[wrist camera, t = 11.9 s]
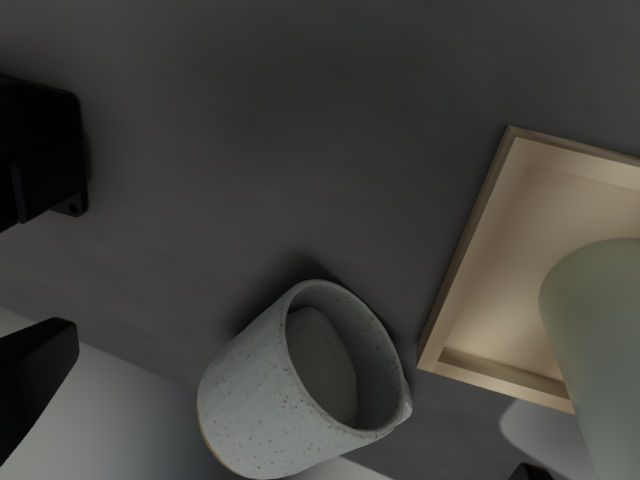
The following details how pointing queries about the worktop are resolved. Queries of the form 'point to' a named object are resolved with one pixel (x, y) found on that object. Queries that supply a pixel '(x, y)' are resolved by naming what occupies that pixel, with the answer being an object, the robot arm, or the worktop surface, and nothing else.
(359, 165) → the worktop surface
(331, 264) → the worktop surface
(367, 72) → the worktop surface
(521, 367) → the tray
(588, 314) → the pillar candle
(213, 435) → the ceramic mug
